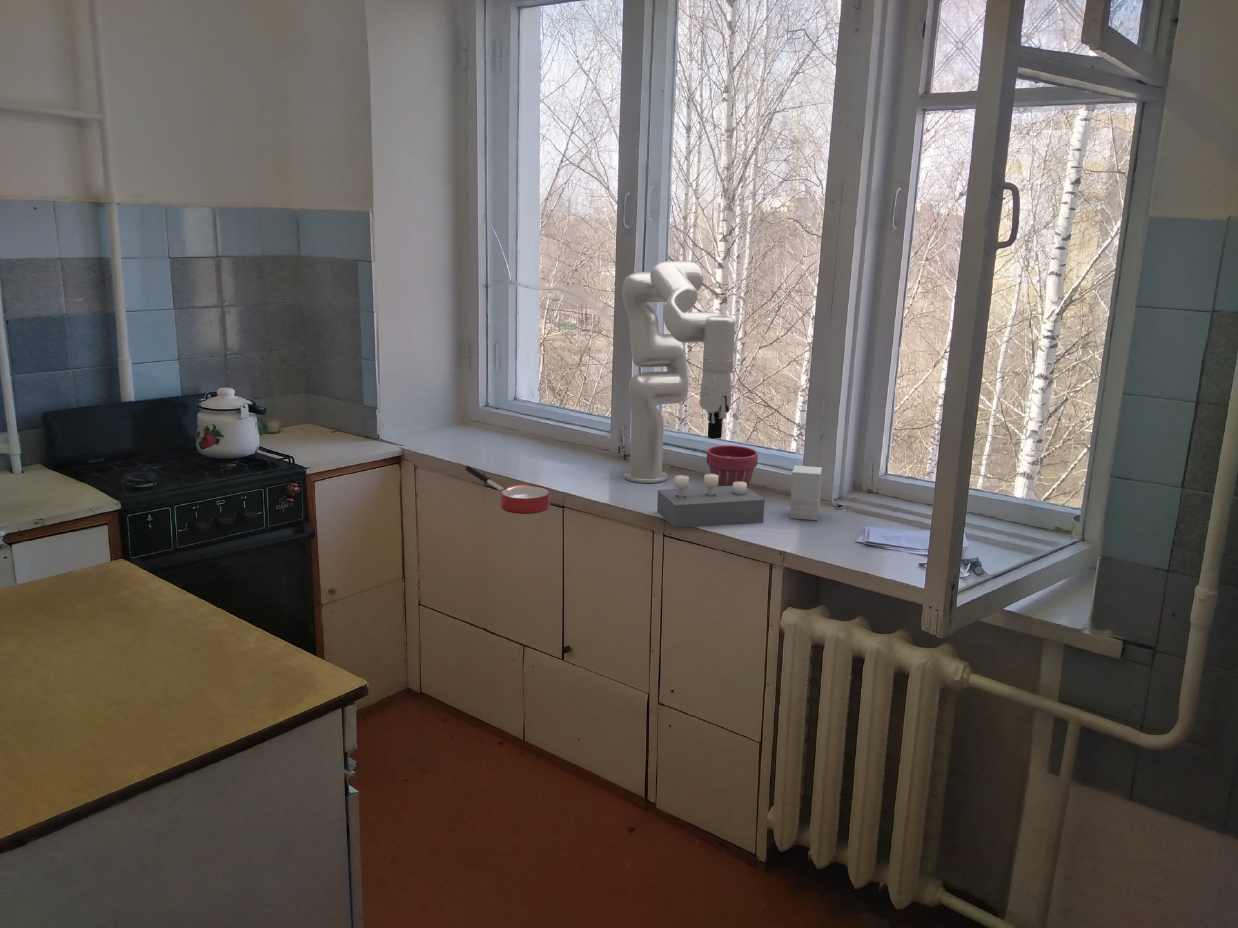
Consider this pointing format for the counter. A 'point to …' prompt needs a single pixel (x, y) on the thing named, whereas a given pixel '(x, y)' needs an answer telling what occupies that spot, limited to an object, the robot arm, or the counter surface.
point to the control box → (709, 507)
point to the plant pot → (732, 463)
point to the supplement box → (805, 492)
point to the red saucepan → (519, 496)
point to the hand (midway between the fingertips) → (714, 437)
